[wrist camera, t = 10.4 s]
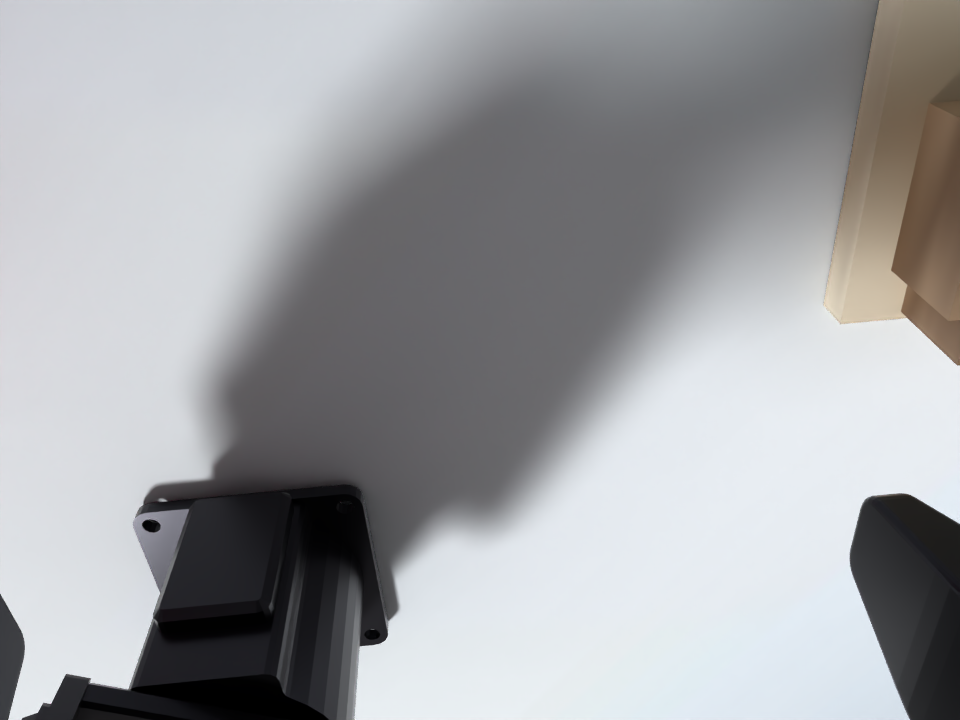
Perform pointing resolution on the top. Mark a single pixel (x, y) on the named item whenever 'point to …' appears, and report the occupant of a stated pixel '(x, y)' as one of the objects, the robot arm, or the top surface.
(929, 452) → the top surface
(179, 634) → the robot arm
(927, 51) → the cradle jig
